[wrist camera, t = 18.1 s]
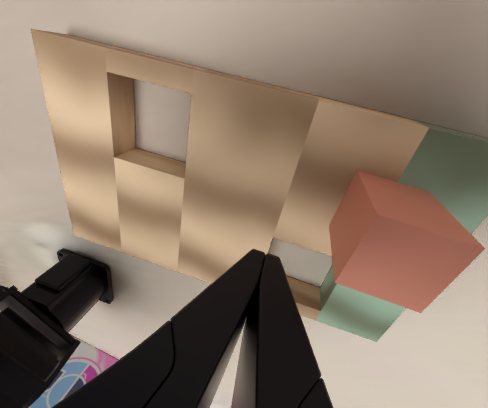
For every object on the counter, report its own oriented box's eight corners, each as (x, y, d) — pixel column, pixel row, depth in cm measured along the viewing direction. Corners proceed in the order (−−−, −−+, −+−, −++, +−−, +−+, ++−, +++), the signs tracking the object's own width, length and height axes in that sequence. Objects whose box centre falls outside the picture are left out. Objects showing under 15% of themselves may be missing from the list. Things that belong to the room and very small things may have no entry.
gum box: (167, 384, 39) (106, 516, 27) (157, 400, 43) (100, 521, 31) (35, 315, 39) (-82, 418, 27) (38, 338, 43) (-63, 436, 31)
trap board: (370, 315, 22) (376, 341, 20) (94, 221, 25) (73, 235, 23) (504, 142, 13) (539, 155, 11) (66, 34, 17) (30, 28, 14)
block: (390, 245, 15) (420, 312, 11) (328, 225, 16) (334, 282, 11) (429, 191, 13) (484, 248, 9) (357, 170, 14) (377, 214, 9)
